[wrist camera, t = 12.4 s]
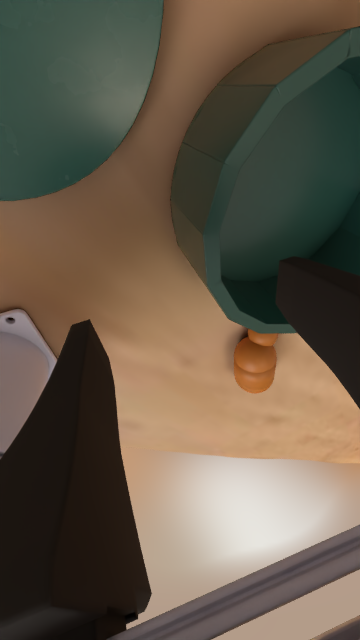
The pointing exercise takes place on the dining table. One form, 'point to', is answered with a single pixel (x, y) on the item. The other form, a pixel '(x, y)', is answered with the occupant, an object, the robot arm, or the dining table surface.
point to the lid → (70, 86)
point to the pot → (273, 174)
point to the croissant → (255, 361)
